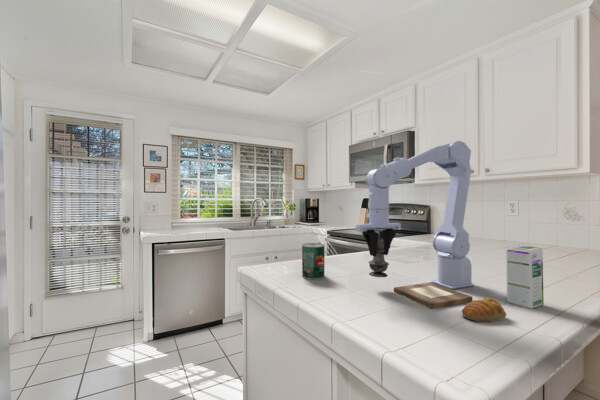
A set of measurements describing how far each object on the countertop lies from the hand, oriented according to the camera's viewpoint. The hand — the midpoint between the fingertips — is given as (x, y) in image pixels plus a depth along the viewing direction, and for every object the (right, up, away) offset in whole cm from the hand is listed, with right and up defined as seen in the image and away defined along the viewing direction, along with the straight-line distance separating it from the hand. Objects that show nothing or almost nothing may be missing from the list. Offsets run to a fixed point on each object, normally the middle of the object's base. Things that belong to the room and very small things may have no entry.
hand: (379, 254), depth 85 cm
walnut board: (+13, -10, -6) cm, 17 cm away
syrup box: (+34, -11, -11) cm, 38 cm away
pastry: (+19, -11, -19) cm, 29 cm away
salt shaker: (0, -6, 0) cm, 6 cm away
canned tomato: (-19, -11, +15) cm, 26 cm away
